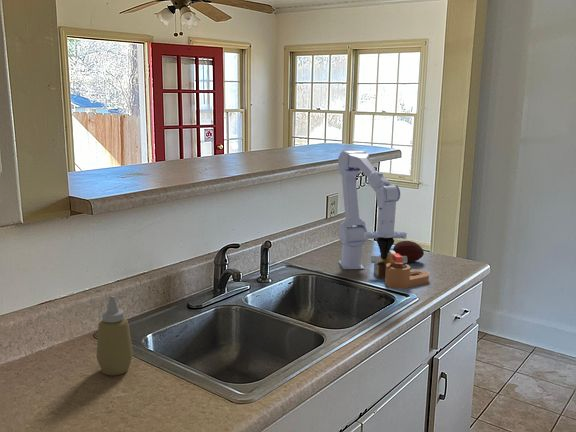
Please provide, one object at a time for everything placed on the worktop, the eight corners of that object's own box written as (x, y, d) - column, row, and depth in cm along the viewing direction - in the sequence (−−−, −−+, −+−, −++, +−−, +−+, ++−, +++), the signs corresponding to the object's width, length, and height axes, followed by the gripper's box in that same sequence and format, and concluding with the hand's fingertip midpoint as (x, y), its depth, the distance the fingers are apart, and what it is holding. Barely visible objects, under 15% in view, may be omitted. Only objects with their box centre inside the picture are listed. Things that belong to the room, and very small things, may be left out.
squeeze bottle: (113, 382, 122) (110, 306, 118) (89, 372, 126) (85, 298, 122) (141, 368, 129) (138, 295, 125) (117, 358, 133) (114, 288, 129)
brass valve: (368, 272, 203) (369, 251, 201) (402, 272, 204) (403, 251, 203) (372, 278, 197) (374, 256, 195) (407, 277, 199) (409, 256, 197)
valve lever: (385, 252, 200) (385, 247, 200) (391, 252, 200) (391, 247, 200) (395, 262, 188) (396, 257, 188) (402, 262, 188) (402, 257, 188)
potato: (386, 259, 221) (387, 239, 219) (406, 255, 227) (408, 236, 225) (407, 267, 211) (408, 246, 209) (427, 263, 217) (429, 242, 215)
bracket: (396, 290, 186) (398, 271, 184) (379, 283, 193) (381, 264, 191) (433, 282, 196) (435, 263, 194) (416, 275, 202) (417, 257, 201)
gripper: (368, 223, 182) (366, 262, 185) (410, 222, 184) (407, 261, 187) (363, 218, 189) (360, 256, 191) (403, 218, 191) (400, 255, 194)
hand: (383, 258), depth 190 cm, fingers closed
